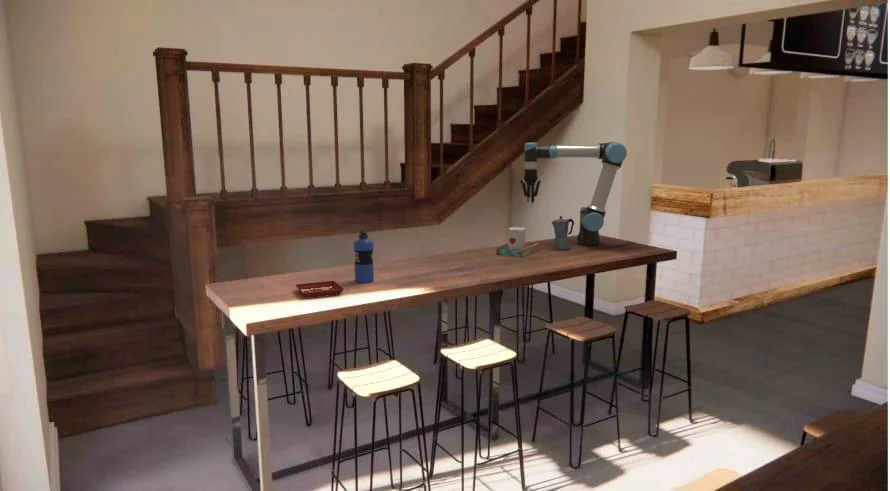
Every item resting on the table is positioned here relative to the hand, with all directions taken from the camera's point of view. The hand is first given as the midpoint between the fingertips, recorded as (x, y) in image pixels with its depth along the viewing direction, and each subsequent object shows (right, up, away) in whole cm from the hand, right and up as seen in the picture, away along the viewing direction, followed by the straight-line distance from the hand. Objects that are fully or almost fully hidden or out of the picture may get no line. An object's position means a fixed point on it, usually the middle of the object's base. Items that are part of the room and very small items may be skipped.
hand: (530, 207), depth 385 cm
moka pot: (+18, -25, -3) cm, 31 cm away
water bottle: (-91, -40, -80) cm, 127 cm away
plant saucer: (-108, -44, -101) cm, 154 cm away
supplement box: (-11, -28, -17) cm, 34 cm away
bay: (-9, -27, -13) cm, 31 cm away
